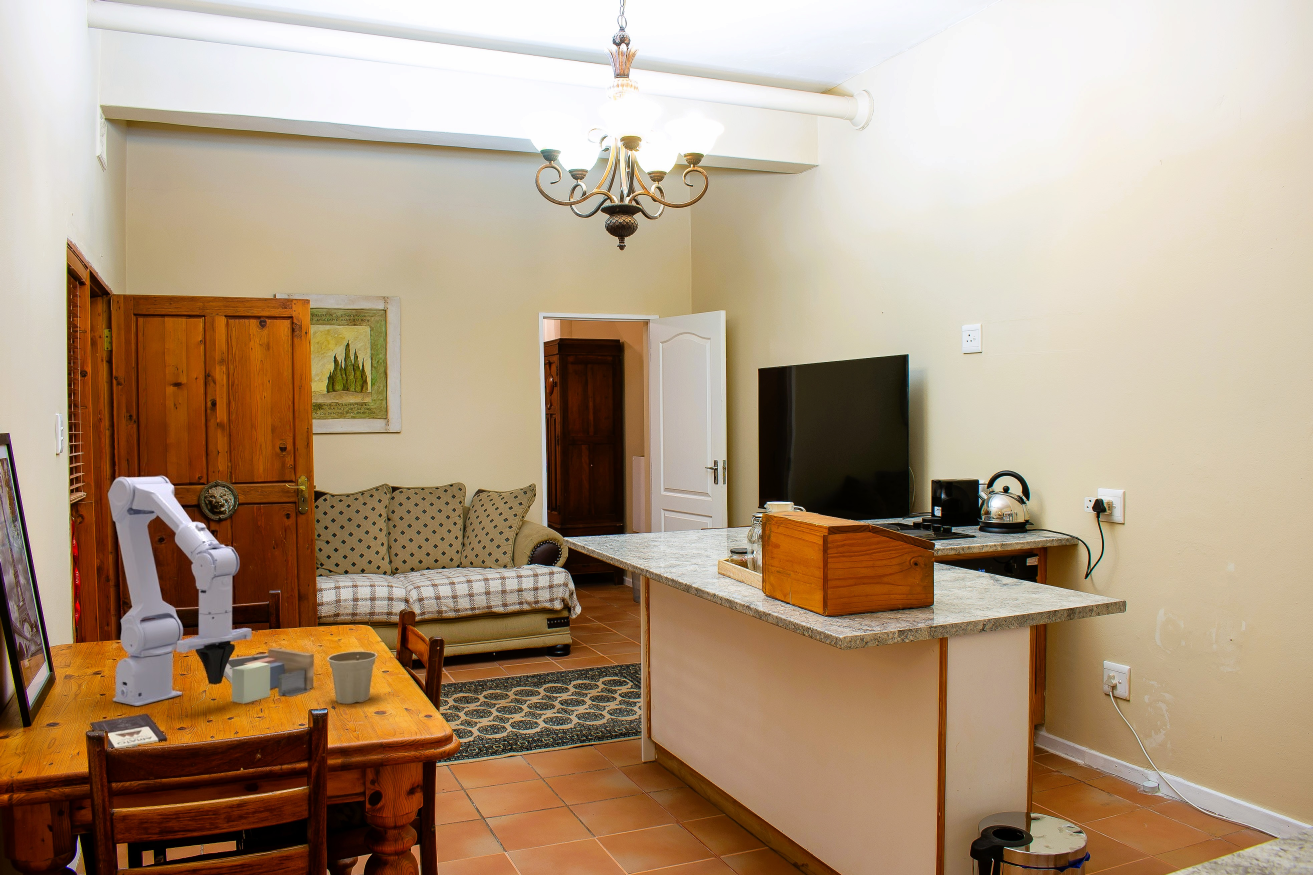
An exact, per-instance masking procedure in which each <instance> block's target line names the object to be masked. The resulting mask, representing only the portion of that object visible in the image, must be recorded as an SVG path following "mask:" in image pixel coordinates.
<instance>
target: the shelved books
mask: <svg viewBox="0 0 1313 875" xmlns="http://www.w3.org/2000/svg"><path fill="white" fill-rule="evenodd" d="M256 662H261V663H267V664H270V690H272V689H275V688H278V675H282V674H284V663H278V662H276V659H274V658H264V659H260V660H256V661H252V662H247V663H244V665H248V664H252V663H256Z"/></svg>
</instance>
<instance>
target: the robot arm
mask: <svg viewBox="0 0 1313 875" xmlns="http://www.w3.org/2000/svg"><path fill="white" fill-rule="evenodd" d="M107 496H108V500H109V501H108V502H109V506H110V511H111V516H112V521H113V522H115V527H116V532H117V533H116V534H117V537H118V542H119V547H120V551H121V552H120V553H121V557H122V562H123V567H124V568H123V569H124V572H125V577H126V583H127V587H128V591H129V598H130V602H131V606H132V607H131V608H130V609H129V610H128V611H127V612H126V614H124V616H122V618H121V619H120V623H121V634H120V642H121V643H120V644H121V646H122V649H124V651H125V652H126V653H127V656H128V657H125V658H122V659H120V660H119V661H118V663H117V665H116V668H115V697H114V698H112V701H113V702H117V703H122V704H126V705H129V706H130V705H132V706H135V707H138V706H143V705H147V704H151V703H154V702H155V703H156V702H159V701H163V700H167V699H171V698H174V697H178V696H182V695H183V692H182V691H177V690H173V667H174V666H173V663H174V662H173V658H174V657H173V655H174V654H173V653H174V651H175V650H176V652H177V653H182V654H184V653H188V652H189V651H194V650H195V653H196V654H197V656H198V658H199V659H200V662H201V663H202V666H203V668H204V670H205V673H206V679H207V682H208V685H209V684H210V685H219V684H222V682H223V678H224V671H225V668H226V665H227V663H228V661H229V659H230V658H232V657H231V656H232V655H233V653H234V651H235V649H236V645H235V643H231V642H238V641H242V640H251V639H252V628H248V627H247V628H246V627H243V628H237V629H233V576H235V575H236V574H237V573H238V571H239V569H240V557H239V555H238V553H237V552H236V550H235V548H234V547H232V546H225V544H221V543H219V541H218V540H217V539H216V538H215V537H214V535H213V534H212V533H211V532H210V531H209V530H208V529H207V526H206V525H205V524H204V523H203V522H199V521H192V519H191V518H190V517H189V515H188V514H187V512H186V511H185V510H184V509H183V507H182V505H181V503H179V501H178V499H177V498H176V497H175V486H174V485H173V484H172V483H171V482H170V480H169V478H167V477H166V476H164V475H156V476H139V477H136V476H135V477H134V476H133V477H132V476H131V477H127V476H126V477H125V476H119V477H117V478H115V479H114V481H113V482H112V484H111V486H110V489H109V490H108V493H107ZM157 517H159V518H160V519H161V520H162V521H163V522H164V523H165V524H166V525H167V526H168V527H169V528H170V529H171V530H172V531H173V532H174V533H175V536H174V540H175V541H174V542H175V543H176V545H177V546H178V547H179V548H180V549H181V550H182V552H183V553H184V554H185V555H186V556H187V557H188V559H189V560H190V561H191V562H192V564H191V571H192V574H193V576H194V578H195V587H196V589H197V590H198V635H196V636H195V635H194V636H192V637H189V638H185V639H183V635H184V627H183V624H182V622H181V620H180V619H179V617H178V614H177V612H176V608H175V607H174V606H173V605H170V604H169V603H167V602H166V601H164V600H163V598H162V592H161V588H160V583H159V577H158V573H157V572H158V571H157V568H156V561H155V558H154V552H153V549H152V548H153V547H152V543H151V539H150V534H149V528H148V525H149V523H150V521H152V520H154V519H155V518H157Z"/></svg>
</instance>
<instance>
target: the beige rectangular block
mask: <svg viewBox="0 0 1313 875" xmlns="http://www.w3.org/2000/svg"><path fill="white" fill-rule="evenodd" d="M270 696H271V689H270V664H267V663H261V662H256V663H252V664H248V665H244V666H239V667H235V668H232V684H231V702H233V703H239V704H248V703H251V702H255V701H258V700H261V699H265V698H269V697H270Z"/></svg>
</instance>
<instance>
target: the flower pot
mask: <svg viewBox="0 0 1313 875" xmlns="http://www.w3.org/2000/svg"><path fill="white" fill-rule="evenodd" d="M377 657H378V654H377V653H376V652H372V651H368V650H367V651H366V650H359V651H358V650H356V651H355V650H354V651H345V652H344V651H343V652H339V653H335V654H331V655H329V656H327V658H326V660H327V662H329V667H330V668H331V672H332V673H331V674H332V680H333V687H334V688H333V689H334V694H335V701H336V702H337V703H338V704H342V705H345V704H347V705H352V704H354V703H362V702H363V703H364V702H366V701H368V700H369V699H370V694H371V693H370V692H371V687H372V686H371V685H372V678H373V669H374V665H375V664H376V659H377Z"/></svg>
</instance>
